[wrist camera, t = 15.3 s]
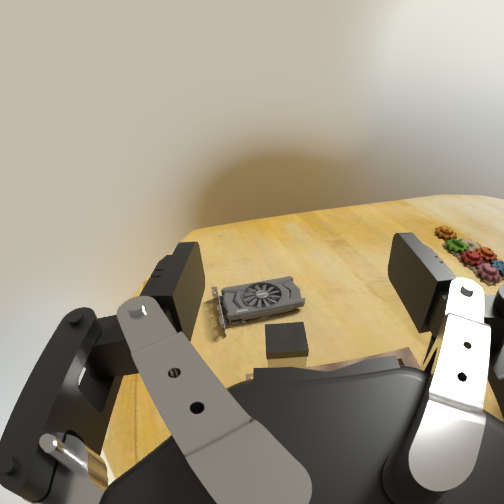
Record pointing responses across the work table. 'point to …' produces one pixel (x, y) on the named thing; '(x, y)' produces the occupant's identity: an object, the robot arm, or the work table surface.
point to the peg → (286, 345)
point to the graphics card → (257, 300)
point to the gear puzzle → (473, 256)
